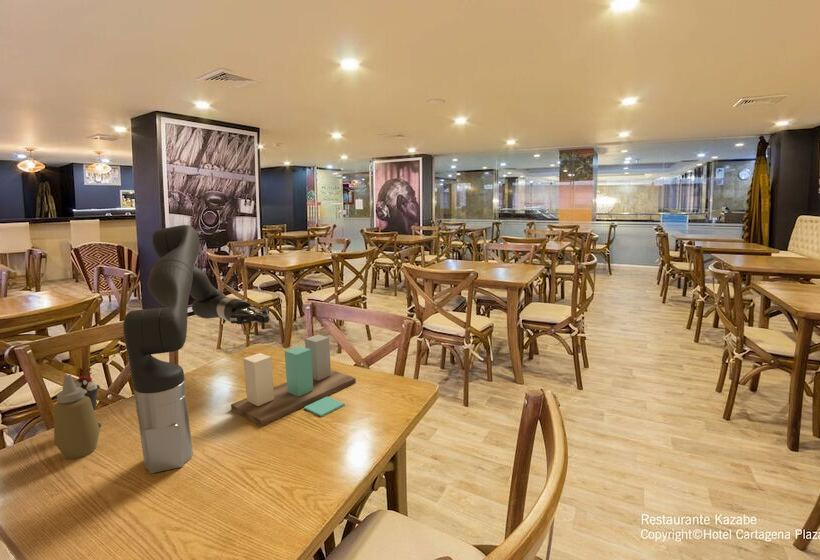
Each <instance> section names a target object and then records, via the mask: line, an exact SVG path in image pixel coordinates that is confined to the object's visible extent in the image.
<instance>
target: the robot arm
mask: <svg viewBox="0 0 820 560" xmlns="http://www.w3.org/2000/svg"><path fill="white" fill-rule="evenodd" d="M151 239H152V246H153V248H154V251H155V253H156V255H157V257H158V260H157V261H156V262H155V263H154V265H153V266H152V268H151V270H150V274H149V276H148V280H147V289H148V292H149V294H150V295H151V297H152V298H153V299H154V300H155V301H157V303H158V304H159V305H161V306H163V307H157V308H156V307H154V308H146V309H144V308H142V309H134V310H131V311H129V312H128V313H126V314H125V316H124V319H123V324H122V328H123V339H124V344H125V348H126V349H125V350H126V353H127V357H128V363H129V368H130V374H131V375H130V376H131V379H132V384H133V393H134V399H135V407H136V415H137V420H138V421H137V422H138V427H139V436H140V441H141V442H140V443H141V449H142V455H143V463H144V467H145V469H147V471H149V474H154V473H159V472H164V471H169V470H173V469H179V468H182V467H184V464H186V463H187V462H188V461H189V460H190V459H191V458H192V456H193V455H194V454H193V453H194V452H193V451H194V450H193V442H192V434H191V424H190V418H189V408H188V400H187V389H186V381H185V374H184V373H185V372H184V368H183V367H182V366H180V365H179V364H176V363H173V362H168V361H164V360H161V359H158V358H157V357H154V356H153V355H159V354H166V353H173V352H177V351H179V350H181V349H182V348H183V347H184V346H185V344H186V339H187V335H188V334H187V333H188V309H189V308H188V307H189V299H190V297H192V298H193V299H194V301H193V302H192V305H191V309H192V312H193V313H194V314H195V315H196V316H197V317H199V318H202V319H216V318H220V319H223V320H225V321H227V322H229V323H230V324H236V325H244V324H251V323H260V324H268V323H269V322H270V317H269V311H268V310H269V309H268V308H269V307H268V306H263V307H261V309H259V308H258V307H255V306H253V305H252V304H251V303H250V302H249V301H247V300H243V299H240V298H237V297H229V296H225V295H224V293H222V291H220V290H219V289H217V288H215V286H214V285H213V284H212V283H211V281H210V279H209V277H208V275H207V274H206V273H205V272H204V270H202V269H201V268H199V267H197V266H195V263H196V261H197V259H198V256H199V253H200V247H201V245H200V237H199V234H198V232H197V230H196V229H195V228H194V227H192V226H191V225H187V224H181V225H180V224H179V225H175V226H170V227H164V228H159V229H157V230H155V231H153V233H152V237H151Z"/></svg>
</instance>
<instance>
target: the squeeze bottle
mask: <svg viewBox="0 0 820 560" xmlns="http://www.w3.org/2000/svg"><path fill="white" fill-rule="evenodd" d="M74 382H75V381H74V379H73V376H72V375H71V374H67V375H63V381H62V390H60V391H59V392H57V394H56V398H57V399H56V400H57V402H56V403H55V404H54V405H53V407H52V411H53V412H52V413H53V415H52V416H53V433H54V434H53V435H54V437H53V439H54V444H55V446H56V448H57V449H58V450H59V452H60V453H61V455H63V457H64V459H69V460H70V459H77V458H82V457H85V456H87V455H89V454H91V453H93V452H94V451H95V450H96V448H97V445H98V441H99V437H100V436H99V435H100V433H101V430H100V428H99V426H98V423H99V422H98V419H97V416H96V413H95V411H94V409H93V406H92V403H91V399H90V398H89V397H87V396H84V389H83V388H80V387H76V385H75V383H74Z"/></svg>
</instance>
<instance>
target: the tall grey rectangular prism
mask: <svg viewBox="0 0 820 560" xmlns="http://www.w3.org/2000/svg"><path fill="white" fill-rule="evenodd" d="M304 345H305V346H304V348H308V349H311V359H312V377H313V379H314V380H317V381H319V380H321V379H324V378H326V377H328V376H331V370H332V369H331V352H330V351H331V350H330V336H329V337H328V336H325V335H321V334H316V335H312V336H309V337H306V338H304Z"/></svg>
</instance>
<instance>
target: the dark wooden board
mask: <svg viewBox="0 0 820 560" xmlns="http://www.w3.org/2000/svg"><path fill="white" fill-rule="evenodd" d="M356 380H357V379H356V377H354V376H351V375H348V374H345V373H343V372H339V371H337V370H333V369H331V376H328V377H326V378H324V379H321V380H319V381H317V380H314V379H313V391H311V392H308V393H306V394H304V395H301V396H299V397H298V396H296V395H294V394H291V393H289V392H287V381H286V382H284V383H281V384H279V385H276V386H273V389H274V400H271V401H269V402H267V403H264V404H262V405H260V406H256V405H254V404H252V403H250V402H248V401H247V397H246V398H244V399H241V400H239V401H236V402H234V403H231V404H230V410H231V411H233V412H234V413H237V414H238V415H241V416H242V417H244V418H246V419H247V420H250V421H251V422H253V423H255V424H257V425H259V426H260V427H263V426H265V425H268V424H270V423H272V422H274V421H277V420H278V419H280V418H283V417H284V416H287V415H289V414H292V413H293V412H295V411H298V410H300V409H302V408H304V407H305V406H307V405H310V404H312V403H314V402H316V401H318V400H320V399H322V398H325V397H327V396H328V397H329V396H331V395H333V394H334V393H337V392H339V391H341V390H343V389H345V388H348V387H349V386H352V385H354V384H356Z"/></svg>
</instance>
